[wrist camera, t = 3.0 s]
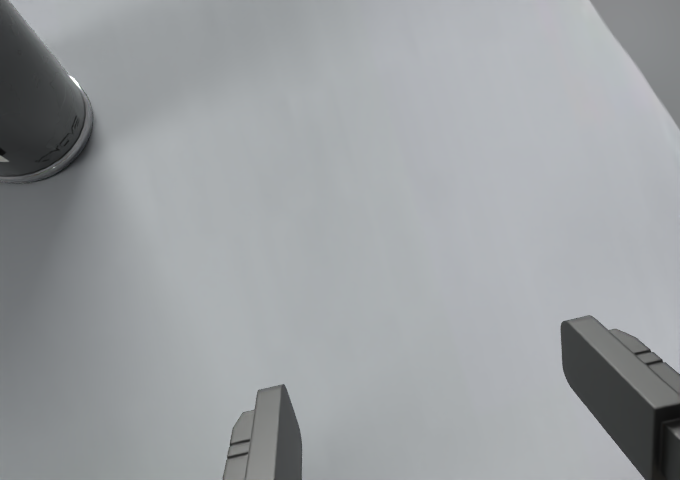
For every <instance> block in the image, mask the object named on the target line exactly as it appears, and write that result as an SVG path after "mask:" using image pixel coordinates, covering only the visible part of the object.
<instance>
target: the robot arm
mask: <svg viewBox="0 0 680 480" xmlns="http://www.w3.org/2000/svg"><path fill="white" fill-rule="evenodd" d="M92 125H93V112H92V107H91V104H90V101H89V99H88V97H87V95H86V94H85V92H84V91H83V90H82V88H81V87H80V86H79V85H78V83H77V82H76V81H75V80H74V79H73V78H72V77H71V76H70V75H69V74H68V73H67V72H66V71H65V69H64V68H63V67H62V66H61V64H60V63H59V62H58V61H57V59H56V58H55V57H54V55H53V54H52V53H51V52H50V51H49V49H48V48H47V47H46V46H45V44H44V43H43V42H42V41H41V39H40V38H39V37H38V36H37V35H36V33H35V32H34V31H33V30H32V28H31V27H30V26H29V25H28V23H27V22H26V21H25V20H24V19H23V17H22V16H21V15H20V14H19V12H18V11H17V10H16V9H15V8H14V6H13V5H12V4H11V3H10V1H9V0H0V182H4V183H28V182H34V181H38V180H41V179H44V178H47V177H49V176H52V175H53V174H55V173H57V172H59V171H61V170H62V169H64V168H65V167H66V166H68V165H69V164H70V163H71V162H72V161H74V159H75V158H76V157H77V156H78V155H79V154H80V153H81V151H82V150H83V148H84V147H85V145H86V143H87V141H88V139H89V137H90V134H91V130H92ZM561 345H562V364H563V370H564V374H565V377H566V379H567V381H568V383H569V385H570V387H571V388H572V389H573V391H574V392H575V393H576V394H577V396H578V397H579V398H580V399H581V401H582V402H583V403H584V404H585V405H586V407H587V408H588V409H589V410H590V412H591V413H592V414H593V415H594V417H595V418H596V419H597V420H598V422H599V423H600V424H601V425H602V427H603V428H604V429H605V430H606V431H607V433H608V434H609V435H610V436H611V438H612V439H613V440H614V441H615V443H616V444H617V445H618V446H619V448H620V449H621V450H622V451H623V453H624V454H625V455H626V456H627V457H628V459H629V460H630V461H631V462H632V464H633V465H634V466H635V467H636V469H637V470H638V471H639V472H640V474H641V475H642V476H643V477H644V479H645V480H680V374H679V373H677V372H676V371H675V370H674V369H673V368H672V367H670V366H669V365H668V364H667V363H666V362H665V363H664V362H663V361H662V359H661V358H660V357H658V356H657V355H656V354H655V353H654V352H651V351H650V349H649V348H648V347H647V346H645V345H644V344H643V343H642V342H641V341H639V340H638V339H637V338H636V337H634V336H631V335H629V334H627V333H625V332H622V331H620V330H618V329H612V330H608V329H606V328H605V327H604V326H603V325H602V324H601V323H600V322H599V321H598V320H596V319H595V318H594V317H593V316H590V315H589V316H584V317H580V318H576V319H571V320H567V321H563V322H562V323H561ZM227 458H228V460H226V465H225V470H224V475H223V480H302V441H301V434H300V429H299V425H298V422H297V419H296V416H295V413H294V410H293V407H292V404H291V401H290V398H289V395H288V392H287V389H286V387H285V385H284V384H283V385H278V386H274V387H270V388H265V389H261V390H258V392H257V398H256V405H255V410H252V411H247V412H243V413H242V415H241V416H240V418H239V419H238V421H237V422H236V424H235V426H234V427H233V430H232V435H231V440H230V447H229V450H228V455H227Z"/></svg>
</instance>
